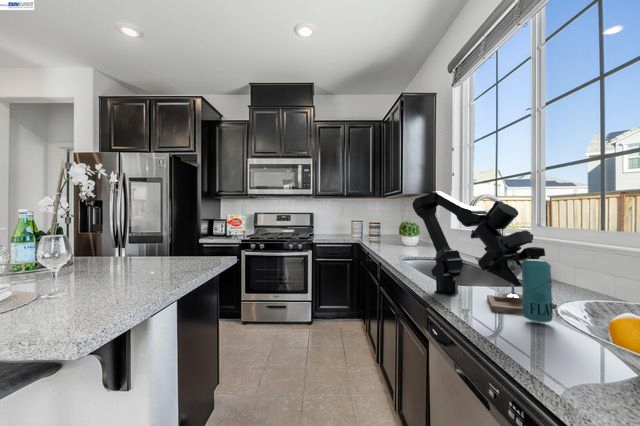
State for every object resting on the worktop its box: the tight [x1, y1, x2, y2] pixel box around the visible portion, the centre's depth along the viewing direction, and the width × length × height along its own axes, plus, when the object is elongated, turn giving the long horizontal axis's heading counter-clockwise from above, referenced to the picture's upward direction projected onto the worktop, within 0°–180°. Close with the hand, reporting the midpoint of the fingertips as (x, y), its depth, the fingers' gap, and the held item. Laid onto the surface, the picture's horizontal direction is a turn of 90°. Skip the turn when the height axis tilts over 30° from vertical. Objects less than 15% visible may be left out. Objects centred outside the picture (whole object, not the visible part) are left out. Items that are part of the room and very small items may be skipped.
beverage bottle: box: [521, 246, 554, 323], centre depth 75 cm, size 6×7×20 cm
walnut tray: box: [486, 294, 523, 315], centre depth 88 cm, size 13×13×2 cm
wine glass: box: [500, 251, 522, 298], centre depth 100 cm, size 8×8×15 cm
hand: (531, 283), depth 76 cm, fingers open, 9 cm apart
